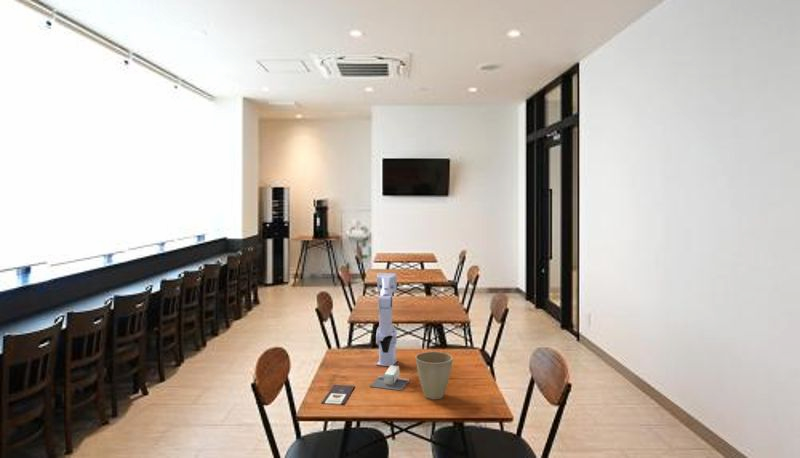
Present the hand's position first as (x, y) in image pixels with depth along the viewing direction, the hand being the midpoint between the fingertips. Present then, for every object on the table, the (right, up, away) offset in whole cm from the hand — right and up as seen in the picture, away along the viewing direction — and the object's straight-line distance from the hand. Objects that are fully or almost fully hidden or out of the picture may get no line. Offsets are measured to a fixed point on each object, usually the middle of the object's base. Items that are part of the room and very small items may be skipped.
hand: (385, 352), depth 221 cm
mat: (+2, -11, -12) cm, 16 cm away
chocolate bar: (-18, -12, -23) cm, 32 cm away
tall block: (+4, -7, -4) cm, 9 cm away
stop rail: (+4, -11, -7) cm, 13 cm away
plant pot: (+20, -12, -23) cm, 33 cm away
